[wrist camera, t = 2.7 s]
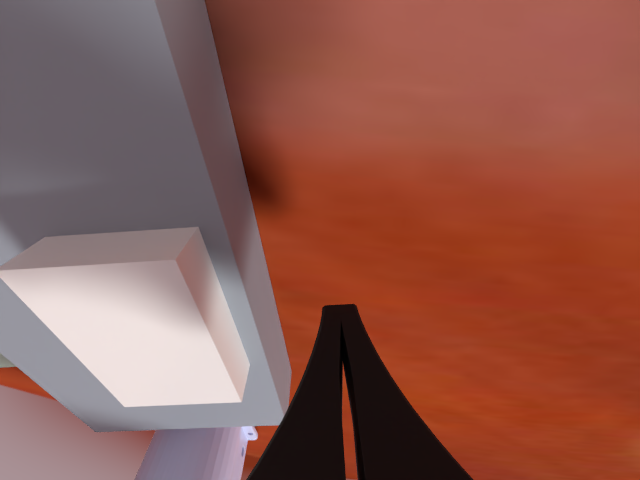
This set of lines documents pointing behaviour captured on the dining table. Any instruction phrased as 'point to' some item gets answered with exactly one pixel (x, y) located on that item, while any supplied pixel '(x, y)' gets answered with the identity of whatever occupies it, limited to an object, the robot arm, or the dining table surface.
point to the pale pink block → (137, 313)
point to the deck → (128, 182)
